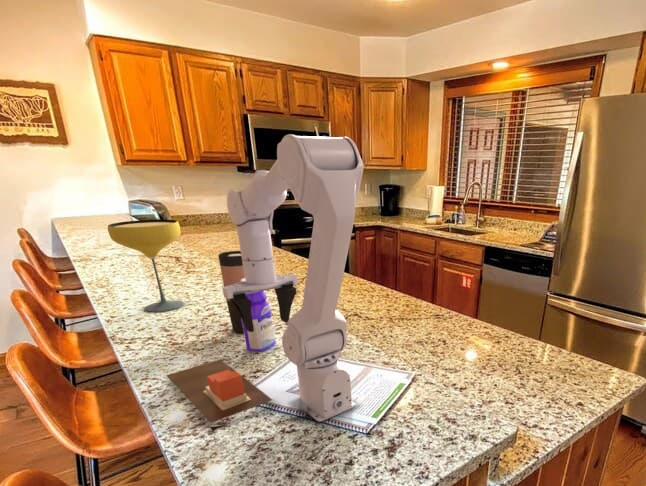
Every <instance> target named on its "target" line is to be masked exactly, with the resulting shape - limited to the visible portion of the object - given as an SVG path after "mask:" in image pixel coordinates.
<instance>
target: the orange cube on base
mask: <svg viewBox="0 0 646 486" xmlns="http://www.w3.org/2000/svg"><path fill="white" fill-rule="evenodd" d="M241 376H242V375H241V373H240V372H238V371H237V370H235V371H234V372H231V371H230V370H226V371H223V372H219V373H216V374H213V375H210V376H207V379H208V384H209V386H206V387H205V388H206V392H207V393H208V394H209V395H211V396H212V397H213V398H214V399H215V400H216V401H217V402H218V403H219V404H220V405H221V406H222V407H226V406H229V405H232V404H234V403H237V402H240V401H243V400H245V399H247V395H246V394H245V393H244V388H243V382H242V377H243V376H242V377H241Z"/></svg>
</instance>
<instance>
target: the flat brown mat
mask: <svg viewBox="0 0 646 486" xmlns="http://www.w3.org/2000/svg"><path fill="white" fill-rule="evenodd" d="M226 370H230V371H231V372H234V371H236V370H235V369H234V368H232V367H231V366H230V365H229V364H227V363H226V362H225V361H223V359H217V360H213V361H210V362H207V363H204V364H203V363H202V364H200V365H197V366H194V367H190V368H187V369H183V370H179V371H176V372H172V373H169V374H166V377H167V378H168V379H169V380H170V381H171V382H172V383H173V385H175V386H176V388H177V389H178V390H179V391H180V393H182V394H183V395H184V396H185V398H187V399H188V401H190V403H192V405H193V406H194V407H195V408H196V409H197V410H198V411H199V412H200V413H201V414H202V415H203V417H204V418H206V419H207V420H208V422H209V423H210V424H212V423H215V422H218V421H221V420H223V419H226V418H229V417H231V416H233V415H236V414H240V413H242V412H244V411H246V410H249V409H252V408H254V407H258V406H260V405H263V404H265V403H268V402H271V401H273V398H271V397H270V396H269V395H267V394H266V393H265V392H263V391H262V390H261V389H260V388H258V387H257V386H256V385H254V384H253V383H252V382H250V381H249V380H248V379H247V378H245V377H244V376H242V375H241V377H242V382H243V388H244V393H245V394H246V395H247V399H245V400H243V401H240V402H237V403H234V404H232V405H229V406H226V407H222V406H221V405H220V404H219V403H218V402H217V401H216V400H215V399H214V398H213V397H212V396H211V395H209V394H208V393H207V392H206V388H205V387H206V386H209V384H208V379H207V376H210V375H213V374H216V373H219V372H223V371H226ZM222 427H226V424H223V425H216V426H210V427H209V428H210V429H211V431H215V430H218V429H220V428H222Z"/></svg>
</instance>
